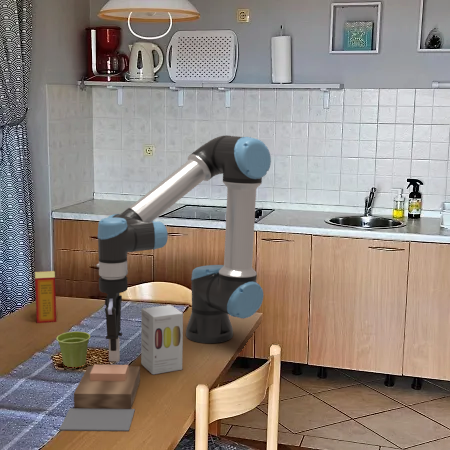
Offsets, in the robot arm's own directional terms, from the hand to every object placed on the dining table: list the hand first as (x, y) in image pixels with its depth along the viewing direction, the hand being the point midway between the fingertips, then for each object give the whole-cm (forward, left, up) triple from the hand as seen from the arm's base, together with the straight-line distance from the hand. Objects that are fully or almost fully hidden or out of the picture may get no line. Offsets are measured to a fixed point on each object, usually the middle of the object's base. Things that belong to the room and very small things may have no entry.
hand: (114, 360), depth 189 cm
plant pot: (+13, -9, -6) cm, 17 cm away
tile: (0, +8, -1) cm, 8 cm away
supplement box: (-12, -9, -6) cm, 16 cm away
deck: (0, +10, -5) cm, 11 cm away
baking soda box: (+32, -52, -6) cm, 61 cm away
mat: (0, +25, -5) cm, 25 cm away
